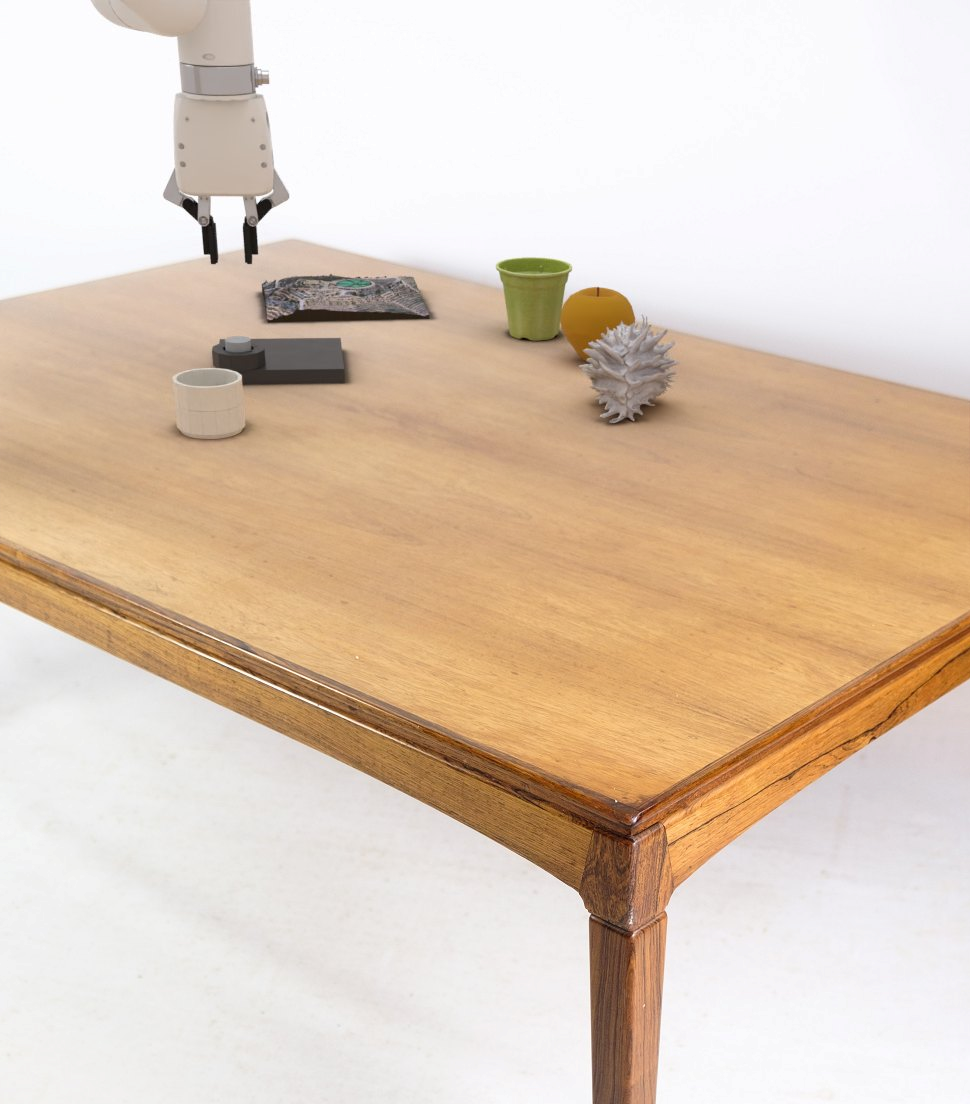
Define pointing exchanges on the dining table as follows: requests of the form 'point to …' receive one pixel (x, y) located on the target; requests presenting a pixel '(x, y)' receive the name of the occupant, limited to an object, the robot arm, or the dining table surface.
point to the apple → (593, 316)
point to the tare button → (238, 344)
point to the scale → (285, 361)
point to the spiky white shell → (629, 369)
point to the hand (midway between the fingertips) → (231, 259)
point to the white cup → (209, 403)
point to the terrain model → (342, 299)
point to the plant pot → (534, 295)
